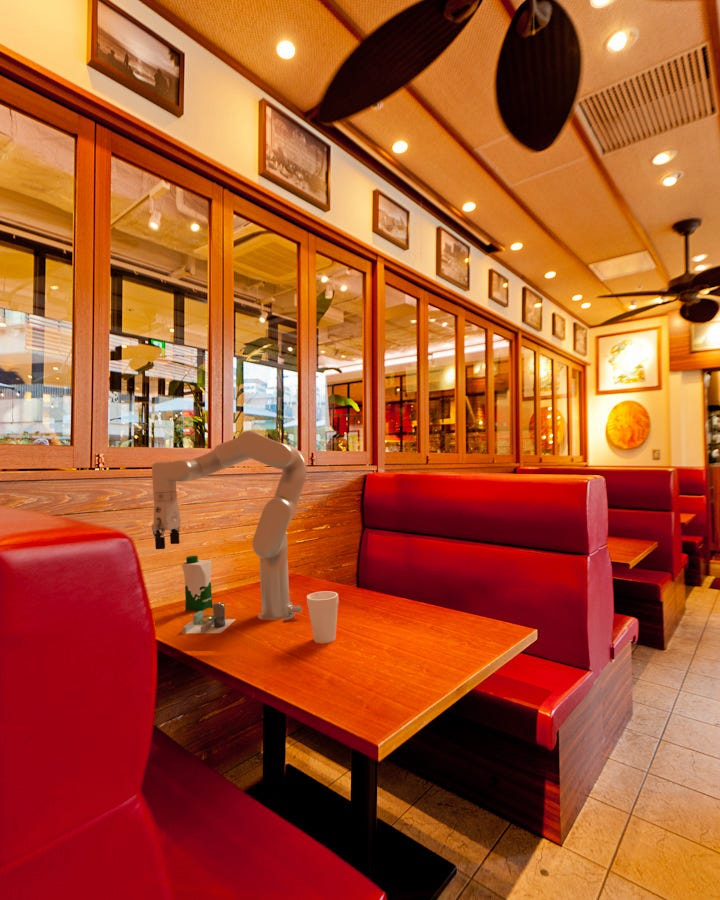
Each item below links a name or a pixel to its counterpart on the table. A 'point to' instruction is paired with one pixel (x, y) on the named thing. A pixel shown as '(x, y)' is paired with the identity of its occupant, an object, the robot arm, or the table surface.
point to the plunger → (206, 618)
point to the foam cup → (323, 615)
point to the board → (204, 625)
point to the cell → (219, 615)
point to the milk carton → (197, 584)
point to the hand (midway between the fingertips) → (168, 546)
